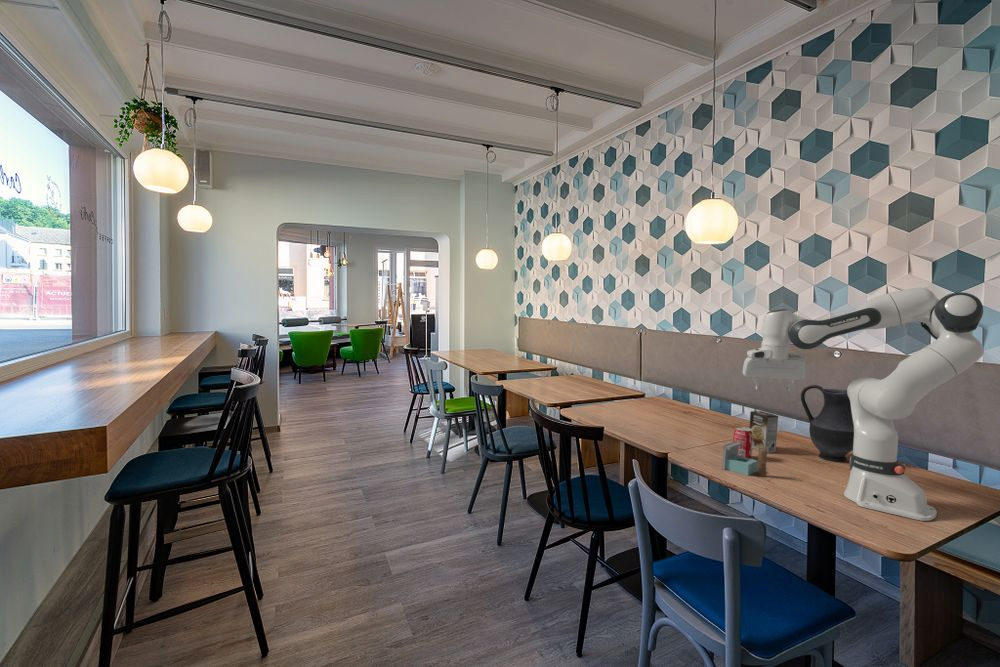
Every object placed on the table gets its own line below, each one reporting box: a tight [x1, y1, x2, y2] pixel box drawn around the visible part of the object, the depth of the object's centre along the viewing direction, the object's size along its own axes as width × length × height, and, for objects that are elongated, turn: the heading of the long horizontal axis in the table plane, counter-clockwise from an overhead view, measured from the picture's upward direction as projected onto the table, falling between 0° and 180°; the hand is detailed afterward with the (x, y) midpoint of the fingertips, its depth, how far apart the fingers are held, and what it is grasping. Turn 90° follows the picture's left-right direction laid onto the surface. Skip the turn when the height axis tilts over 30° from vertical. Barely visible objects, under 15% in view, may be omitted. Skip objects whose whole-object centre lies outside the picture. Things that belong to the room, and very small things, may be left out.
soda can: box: [732, 426, 753, 459], centre depth 192 cm, size 7×7×12 cm
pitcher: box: [800, 384, 854, 463], centre depth 194 cm, size 17×21×30 cm
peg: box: [756, 448, 768, 478], centre depth 171 cm, size 3×3×10 cm
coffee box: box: [749, 410, 779, 454], centre depth 203 cm, size 9×6×16 cm
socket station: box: [721, 441, 758, 476], centre depth 177 cm, size 9×10×9 cm
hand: (772, 390), depth 173 cm, fingers open, 8 cm apart
